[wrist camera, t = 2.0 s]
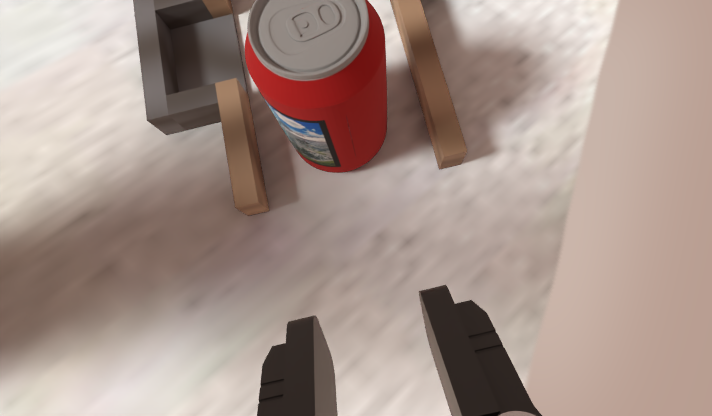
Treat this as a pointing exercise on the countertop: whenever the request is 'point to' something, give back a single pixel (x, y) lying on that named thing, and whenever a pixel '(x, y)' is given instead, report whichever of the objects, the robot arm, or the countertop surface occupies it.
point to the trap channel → (229, 91)
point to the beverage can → (322, 76)
